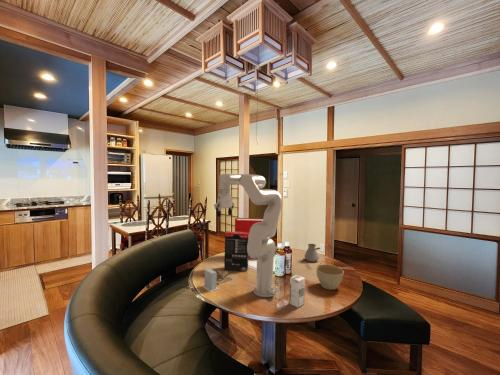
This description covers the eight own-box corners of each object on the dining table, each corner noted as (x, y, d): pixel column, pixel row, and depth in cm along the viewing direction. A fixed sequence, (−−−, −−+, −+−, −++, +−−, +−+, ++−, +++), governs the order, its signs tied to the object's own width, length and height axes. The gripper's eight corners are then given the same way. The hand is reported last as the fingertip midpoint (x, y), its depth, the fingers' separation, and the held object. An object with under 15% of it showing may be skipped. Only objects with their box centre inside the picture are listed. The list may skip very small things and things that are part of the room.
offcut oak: (229, 279, 151) (229, 276, 151) (219, 283, 146) (219, 279, 145) (225, 277, 154) (225, 274, 154) (215, 281, 149) (215, 277, 149)
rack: (232, 279, 150) (232, 276, 150) (218, 284, 143) (218, 281, 143) (216, 271, 163) (216, 268, 163) (203, 275, 156) (203, 272, 156)
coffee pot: (302, 258, 194) (302, 240, 193) (315, 257, 195) (315, 240, 195) (312, 267, 173) (313, 248, 172) (326, 267, 174) (327, 247, 174)
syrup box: (295, 300, 126) (296, 274, 126) (304, 304, 122) (305, 277, 122) (289, 303, 123) (289, 276, 122) (298, 308, 118) (299, 280, 118)
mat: (218, 289, 137) (218, 288, 137) (210, 292, 133) (210, 291, 133) (210, 283, 144) (210, 283, 144) (201, 286, 140) (201, 286, 140)
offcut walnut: (227, 275, 152) (228, 271, 152) (222, 279, 146) (222, 275, 146) (222, 274, 154) (222, 270, 154) (217, 278, 148) (217, 274, 148)
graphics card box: (248, 268, 171) (249, 231, 169) (247, 271, 164) (248, 233, 163) (225, 266, 172) (226, 230, 171) (223, 270, 165) (224, 232, 164)
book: (266, 255, 198) (267, 218, 197) (267, 258, 190) (267, 220, 189) (235, 254, 199) (235, 218, 198) (234, 258, 191) (234, 219, 190)
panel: (216, 288, 137) (216, 272, 136) (211, 290, 135) (211, 273, 134) (209, 284, 143) (209, 268, 142) (204, 285, 141) (204, 269, 140)
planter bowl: (325, 294, 133) (325, 275, 133) (310, 282, 149) (311, 265, 148) (349, 291, 138) (349, 273, 137) (332, 279, 153) (333, 263, 153)
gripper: (217, 192, 153) (217, 217, 154) (237, 191, 165) (237, 215, 166) (211, 191, 159) (211, 216, 159) (231, 191, 170) (230, 214, 171)
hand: (224, 215), depth 163 cm, fingers open, 9 cm apart
